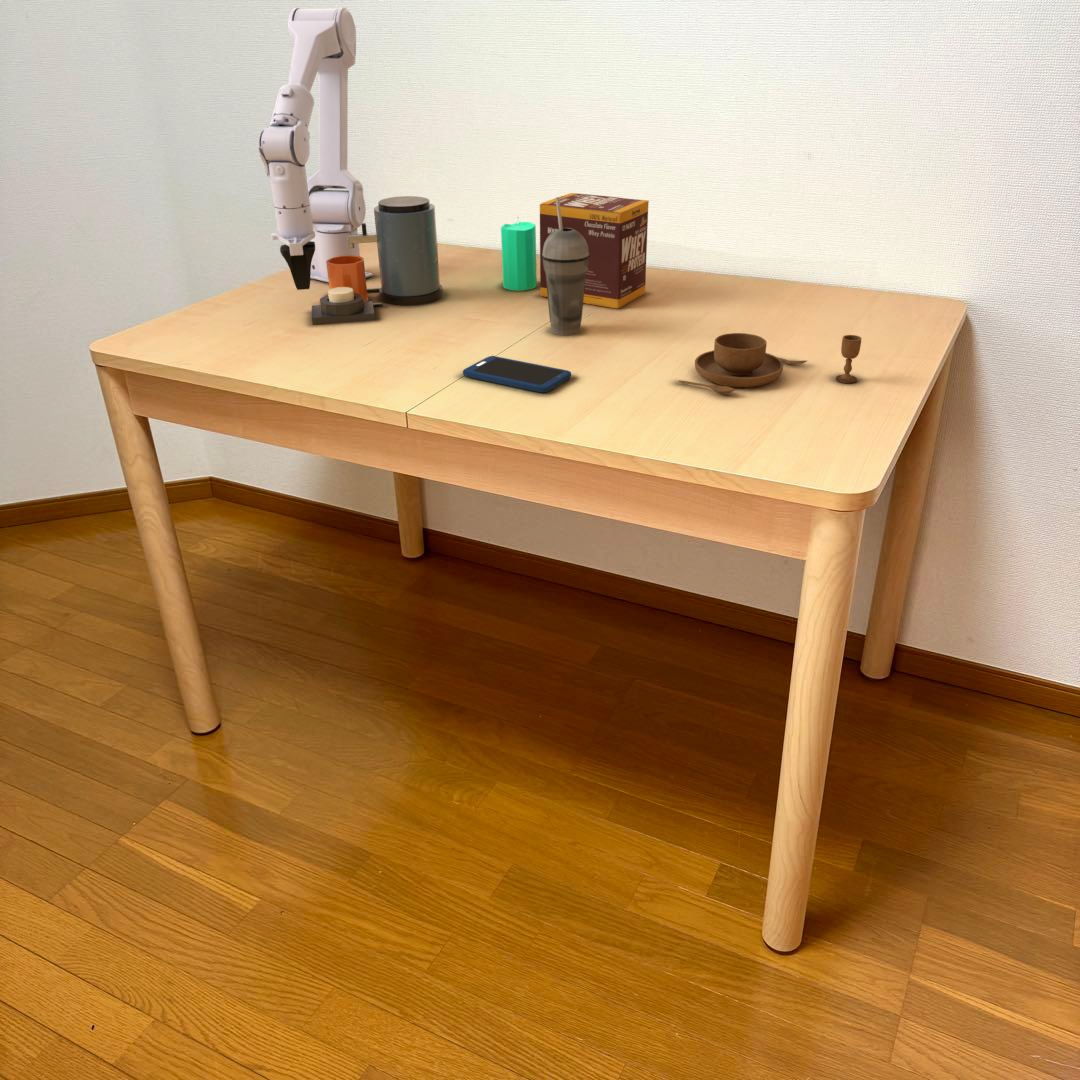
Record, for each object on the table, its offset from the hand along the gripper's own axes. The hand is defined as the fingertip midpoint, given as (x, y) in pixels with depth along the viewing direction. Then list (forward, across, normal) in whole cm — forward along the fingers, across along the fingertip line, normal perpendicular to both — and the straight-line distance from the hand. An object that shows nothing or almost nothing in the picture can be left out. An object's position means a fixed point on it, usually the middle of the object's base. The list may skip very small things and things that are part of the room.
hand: (303, 288), depth 171 cm
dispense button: (0, +9, +6) cm, 11 cm away
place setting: (+3, +52, +62) cm, 81 cm away
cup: (+3, 0, +7) cm, 8 cm away
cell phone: (+3, +43, +29) cm, 52 cm away
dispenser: (+3, 0, +14) cm, 14 cm away
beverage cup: (+3, +25, +40) cm, 47 cm away
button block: (+3, +8, +6) cm, 11 cm away
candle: (+3, -2, +37) cm, 37 cm away
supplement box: (+3, +7, +49) cm, 49 cm away
